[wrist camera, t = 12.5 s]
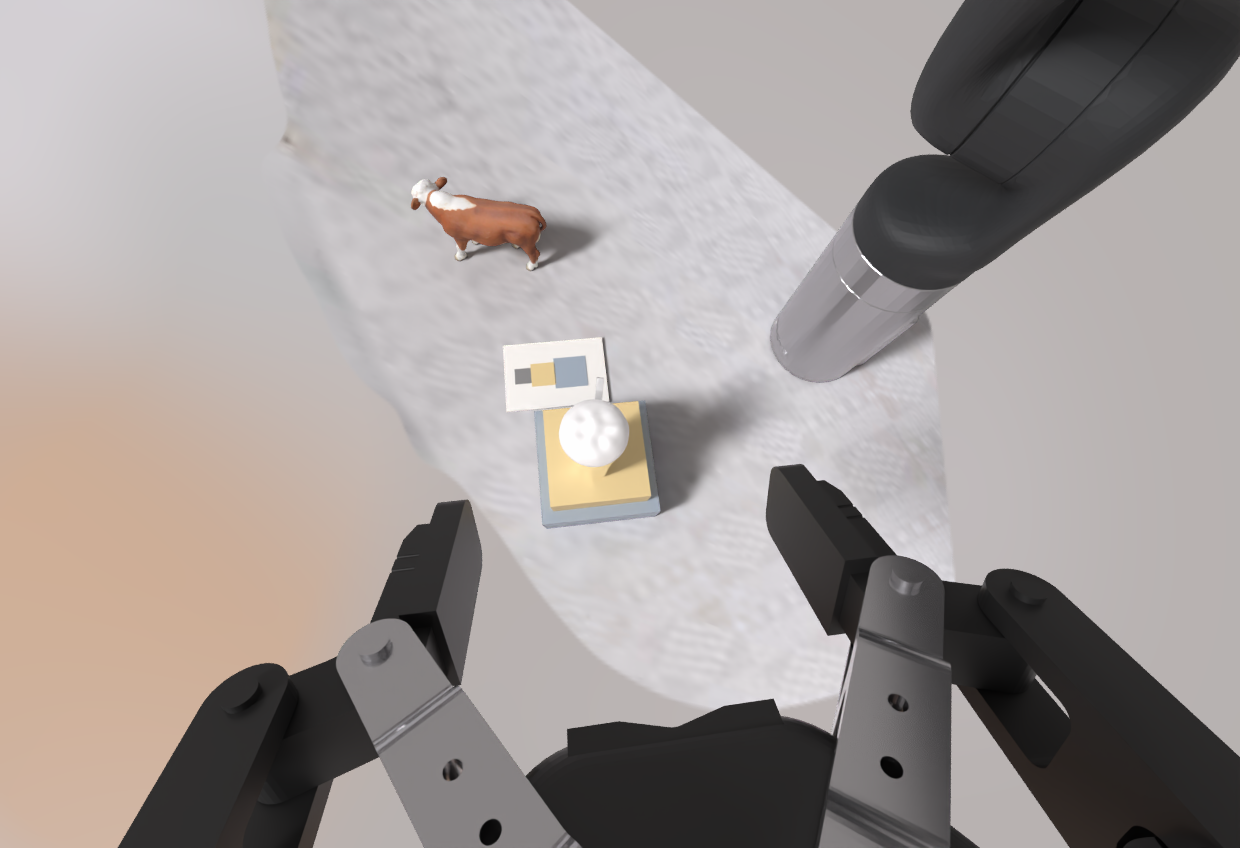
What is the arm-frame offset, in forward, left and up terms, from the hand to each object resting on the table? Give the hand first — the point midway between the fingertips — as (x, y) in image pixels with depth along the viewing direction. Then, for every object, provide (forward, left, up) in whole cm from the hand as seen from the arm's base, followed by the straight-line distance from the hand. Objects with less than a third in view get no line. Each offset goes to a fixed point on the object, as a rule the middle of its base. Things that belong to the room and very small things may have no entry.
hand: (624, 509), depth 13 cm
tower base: (0, -8, -33) cm, 34 cm away
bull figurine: (+9, -33, -33) cm, 47 cm away
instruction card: (+3, -18, -33) cm, 37 cm away
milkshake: (0, -7, -26) cm, 27 cm away
